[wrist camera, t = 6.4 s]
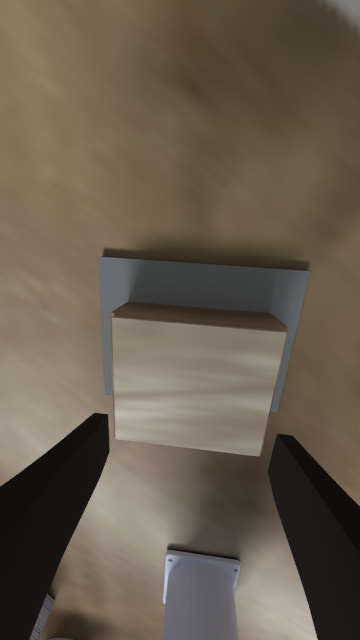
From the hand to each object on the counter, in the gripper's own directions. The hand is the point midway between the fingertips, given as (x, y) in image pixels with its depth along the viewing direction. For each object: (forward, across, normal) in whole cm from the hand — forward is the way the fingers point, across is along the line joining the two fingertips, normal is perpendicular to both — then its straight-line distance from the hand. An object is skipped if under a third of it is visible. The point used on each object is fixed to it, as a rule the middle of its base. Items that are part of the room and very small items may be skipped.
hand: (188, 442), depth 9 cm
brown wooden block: (+6, 0, +5) cm, 7 cm away
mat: (+8, 0, -2) cm, 8 cm away
